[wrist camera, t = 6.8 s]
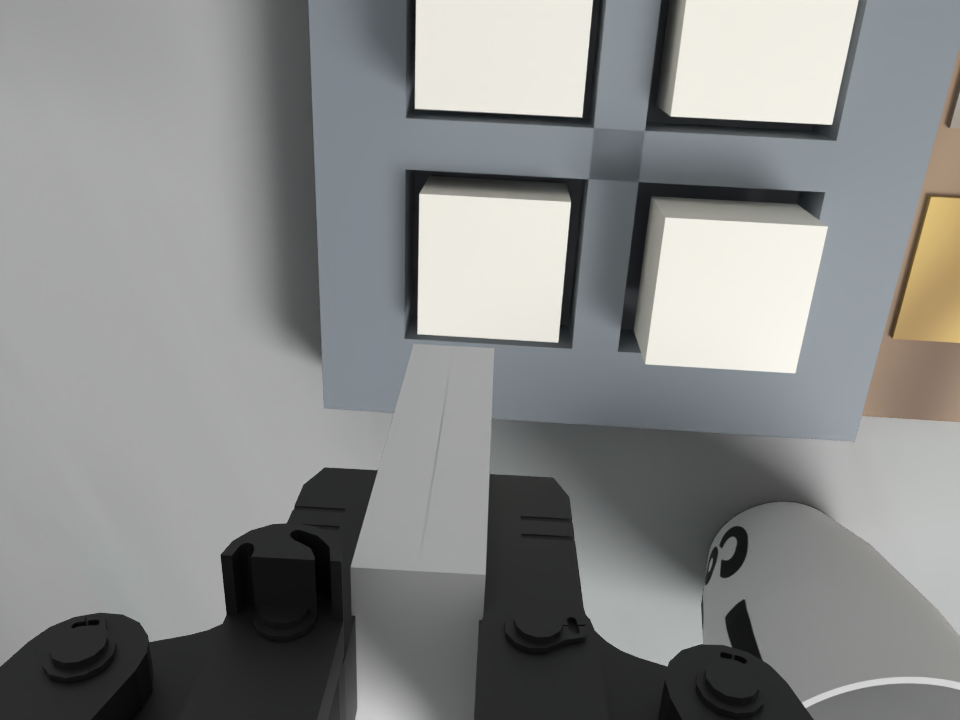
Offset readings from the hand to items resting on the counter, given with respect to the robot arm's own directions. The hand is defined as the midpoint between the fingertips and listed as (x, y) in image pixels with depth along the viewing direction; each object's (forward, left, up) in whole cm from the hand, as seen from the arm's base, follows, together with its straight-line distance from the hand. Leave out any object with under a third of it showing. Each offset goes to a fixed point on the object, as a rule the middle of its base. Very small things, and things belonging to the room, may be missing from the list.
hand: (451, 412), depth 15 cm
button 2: (+7, 0, -10) cm, 12 cm away
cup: (+12, -12, -12) cm, 20 cm away
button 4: (0, 0, -11) cm, 11 cm away
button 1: (+7, +7, -11) cm, 15 cm away
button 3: (0, +7, -10) cm, 12 cm away
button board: (+4, +3, -12) cm, 13 cm away
